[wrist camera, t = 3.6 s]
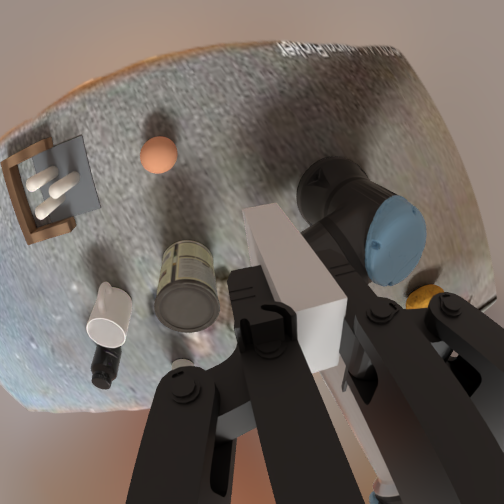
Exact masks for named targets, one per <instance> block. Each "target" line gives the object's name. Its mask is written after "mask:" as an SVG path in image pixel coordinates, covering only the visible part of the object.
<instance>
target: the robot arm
mask: <svg viewBox="0 0 504 504" xmlns="http://www.w3.org/2000/svg"><path fill="white" fill-rule="evenodd" d="M297 204H298V208H299V211H300V213H301V215H302V217H303V218H304V219H305V220H306V222H307V223H308V224H309V225H310V227H308V228H307V229H305V230H304V231H302V232H301V233H300V232H299V231H298V230H297V228H296V227H295V226H294V224H293V223H292V222H291V221H290V219H289V218H288V217H287V215H286V214H285V213H284V212H283V210H282V209H281V208H280V207H279V205H278V204H277V203H271V204H266V205H260V206H255V207H250V208H244V209H242V212H243V218H244V224H245V231H246V237H247V243H248V250H249V256H250V262H251V266H252V267H248V268H243V269H238V270H234V271H231V273H230V275H229V278H228V280H227V284H228V289H229V295H230V300H231V305H232V310H233V315H234V320H235V322H234V331H235V335H236V339H237V346H236V349H235V351H234V352H233V354H232V355H231V356H230V357H229V358H228V359H227V360H225V361H224V362H222V363H221V364H219V365H217V366H215V367H213V368H211V369H208V370H206V371H205V370H204V369H202V368H200V367H195V366H183V367H178V368H176V369H174V370H172V371H170V372H168V373H167V374H166V375H165V376H164V377H163V378H162V379H161V381H160V383H159V384H158V386H157V389H156V392H155V395H154V399H153V402H152V405H151V409H150V412H149V415H148V419H147V423H146V426H145V429H144V433H143V437H142V440H141V444H140V448H139V452H138V455H137V459H136V463H135V467H134V470H133V475H132V479H131V483H130V487H129V491H128V495H127V500H126V504H230V503H231V494H232V483H233V473H234V462H235V452H236V442H237V437H239V436H241V435H243V434H245V433H246V432H248V431H250V430H252V429H254V428H256V427H257V430H258V435H259V438H260V443H261V447H262V451H263V455H264V459H265V463H266V467H267V471H268V475H269V479H270V483H271V486H272V490H273V494H274V498H275V501H276V504H365V502H364V500H363V498H362V495H361V492H360V490H359V487H358V485H357V483H356V480H355V478H354V475H353V473H352V470H351V468H350V465H349V463H348V460H347V458H346V455H345V453H344V451H343V448H342V446H341V443H340V441H339V438H338V436H337V433H336V431H335V428H334V426H333V424H332V421H331V419H330V417H329V414H328V412H327V409H326V407H325V404H324V402H323V400H322V397H321V395H320V392H319V390H318V387H317V385H316V383H315V380H314V378H313V375H312V373H315V372H318V371H319V372H320V374H321V376H322V378H323V380H324V381H325V383H326V385H327V387H328V389H329V390H330V392H331V394H332V396H333V398H334V399H335V401H336V403H337V405H338V406H339V408H340V410H341V412H342V414H343V415H344V417H345V419H346V421H347V422H348V424H349V426H350V428H351V429H352V431H353V433H354V435H355V437H356V439H357V440H358V442H359V444H360V446H361V447H362V449H363V451H364V453H365V455H366V456H367V458H368V460H369V462H370V464H371V465H372V467H373V469H374V471H375V472H376V474H377V477H376V479H375V481H374V483H373V490H374V491H373V492H372V493H371V494H370V496H369V502H370V504H504V329H503V328H502V327H501V326H500V325H498V324H497V323H495V322H494V321H493V320H492V319H490V318H489V317H488V316H486V315H485V314H484V313H482V312H481V311H480V310H478V309H477V308H475V307H474V306H473V305H471V304H470V303H469V302H467V301H466V300H464V299H463V298H461V297H460V296H458V295H456V294H453V293H448V292H442V293H438V294H436V295H433V297H432V298H431V300H430V302H429V305H428V308H417V309H403V308H402V307H401V306H400V305H399V304H397V303H396V302H395V301H393V300H390V299H388V298H383V297H377V295H376V294H375V293H374V292H373V291H372V289H371V288H370V287H369V286H368V284H369V283H371V282H372V281H373V282H374V283H376V284H378V285H380V286H387V285H389V286H393V285H396V284H398V283H399V282H401V281H403V280H404V279H405V278H406V277H407V276H408V275H409V274H410V273H411V272H412V271H413V270H414V268H415V267H416V265H417V264H418V262H419V260H420V258H421V256H422V252H423V250H424V247H425V243H426V224H425V221H424V218H423V216H422V214H421V212H420V211H419V210H418V209H417V208H416V207H415V206H413V205H412V204H411V203H409V202H408V201H407V200H406V199H405V198H404V197H402V196H399V195H397V194H395V193H393V192H391V191H389V190H388V189H386V188H384V187H382V186H380V185H378V184H376V183H374V182H372V181H371V180H370V179H369V178H368V176H367V175H366V173H365V172H364V170H363V169H362V168H361V167H360V166H359V165H357V164H356V163H354V162H352V161H350V160H348V159H345V158H342V157H328V158H324V159H322V160H319V161H318V162H316V163H314V164H313V165H312V166H311V167H310V168H309V169H308V170H307V171H306V172H305V174H304V175H303V177H302V179H301V181H300V183H299V186H298V190H297ZM453 350H454V351H455V352H457V353H458V354H459V355H458V356H457V357H451V356H450V355H451V354H452V352H453Z"/></svg>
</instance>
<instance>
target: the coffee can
mask: <svg viewBox="0 0 504 504" xmlns="http://www.w3.org/2000/svg"><path fill="white" fill-rule="evenodd" d="M154 309H155V313H156V316H157V317H158V319H159V320H160V321H161V322H162V323H163V324H164V325H165V326H167V327H168V328H170V329H172V330H175V331H178V332H185V333H192V332H198V331H201V330H204V329H206V328H208V327H209V326H211V325H212V324H213V323H214V322H215V321H216V319H217V317H218V315H219V312H220V304H219V300H218V296H217V289H216V281H215V274H214V266H213V257H212V255H211V253H210V251H209V250H208V249H207V248H206V247H205V246H204V245H203V244H201V243H199V242H196V241H191V240H183V241H179V242H176V243H174V244H172V245H171V246H170V247H169V248H168V249H167V250H166V251H165V253H164V255H163V258H162V266H161V272H160V278H159V284H158V291H157V297H156V299H155V304H154Z"/></svg>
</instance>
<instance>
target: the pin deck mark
mask: <svg viewBox="0 0 504 504" xmlns="http://www.w3.org/2000/svg"><path fill="white" fill-rule="evenodd" d="M32 160H33V164H34V168H35V171H36V174H37V173H39V172H41V171H43V170H45V169H47V168H49V167H51V166H56V167H57V168H58V176H57V177H56V178H54V179H52V180H51V181H49V182H48V183H46V184H44V185H43V186H41V187H40V189H41V192H42V195H43V199H44V201H45V200H47V199H48V198H49V197H51V196H50V194H49V187H50V186H51V185H52V184H54V183H55V182H57V181H58V180H60V179H62V178H63V177H65V176H66V175H68V174H70V173H71V172H73V171H76V172H78V173H79V175H80V181H79V182H78V183H77V184H76V185H74V186H73V187H72V188H70V189H69V190H68V191H66V192H65V196H66V198H65V201H64V202H63V203H61V204H60V205H59V206H58V207H57V208H56V209H54V210H53V211H52V212H51V213H50V214H49V216H50V219H51V222H52V223H54V222H57V221H60V220H63V219H66V218H69V217H73V216H76V215H79V214H82V213H86V212H89V211H93V210H96V209H100V208H101V206H100V203H99V199H98V196H97V193H96V189H95V186H94V182H93V178H92V175H91V171H90V167H89V163H88V159H87V155H86V150H85V146H84V142H83V137H82V136H79V137H76V138H74V139H71V140H69V141H66V142H64V143H62V144H59V145H57V146H55V147H52V148H50V149H48V150H46V151H43V152H41V153H39V154H37V155H35V156H33V157H32Z"/></svg>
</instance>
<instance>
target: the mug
mask: <svg viewBox="0 0 504 504" xmlns="http://www.w3.org/2000/svg"><path fill="white" fill-rule="evenodd" d="M132 306H133V305H132V300H131V298H130V296H129V295H128V294H127V293H126V292H125V291H123V290H122V289H119V288H116V287H111V285H110V284H109V283H108V282H103V283H102V284H101V285H100V287H99V290H98V296H97V300H96V302H95V305H94V307H93V310H92V312H91V315H90V318H89V320H88V323H87V326H86V329H87V333H88V335H89V336H90V338H91V339H92V340H93V341H94V342H96V343H97V344H99V345H101V346H104V347H108V348H116V347H119V346H121V345H122V344H123V343H124V342H125V340H126V335H127V330H128V326H129V321H130V317H131V312H132Z"/></svg>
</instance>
